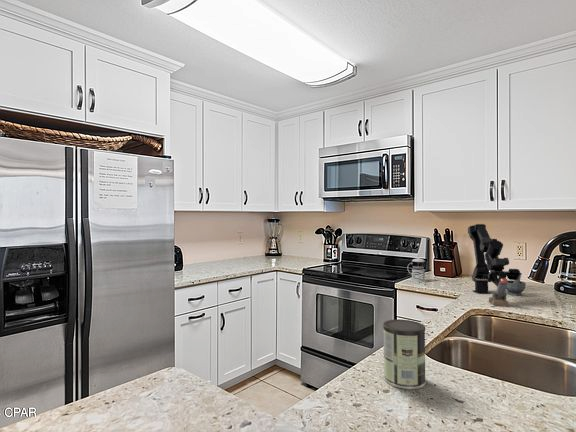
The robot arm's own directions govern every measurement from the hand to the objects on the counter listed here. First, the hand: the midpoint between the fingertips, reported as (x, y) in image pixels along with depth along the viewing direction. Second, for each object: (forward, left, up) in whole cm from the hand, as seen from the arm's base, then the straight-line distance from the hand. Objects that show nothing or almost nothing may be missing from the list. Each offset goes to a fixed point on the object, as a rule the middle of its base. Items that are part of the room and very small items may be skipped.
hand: (500, 288), depth 164 cm
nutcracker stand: (-4, +2, -8) cm, 9 cm away
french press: (-66, -6, -9) cm, 67 cm away
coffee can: (+63, -81, -9) cm, 103 cm away
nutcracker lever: (-2, +1, -5) cm, 5 cm away
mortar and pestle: (-21, +26, -9) cm, 35 cm away
